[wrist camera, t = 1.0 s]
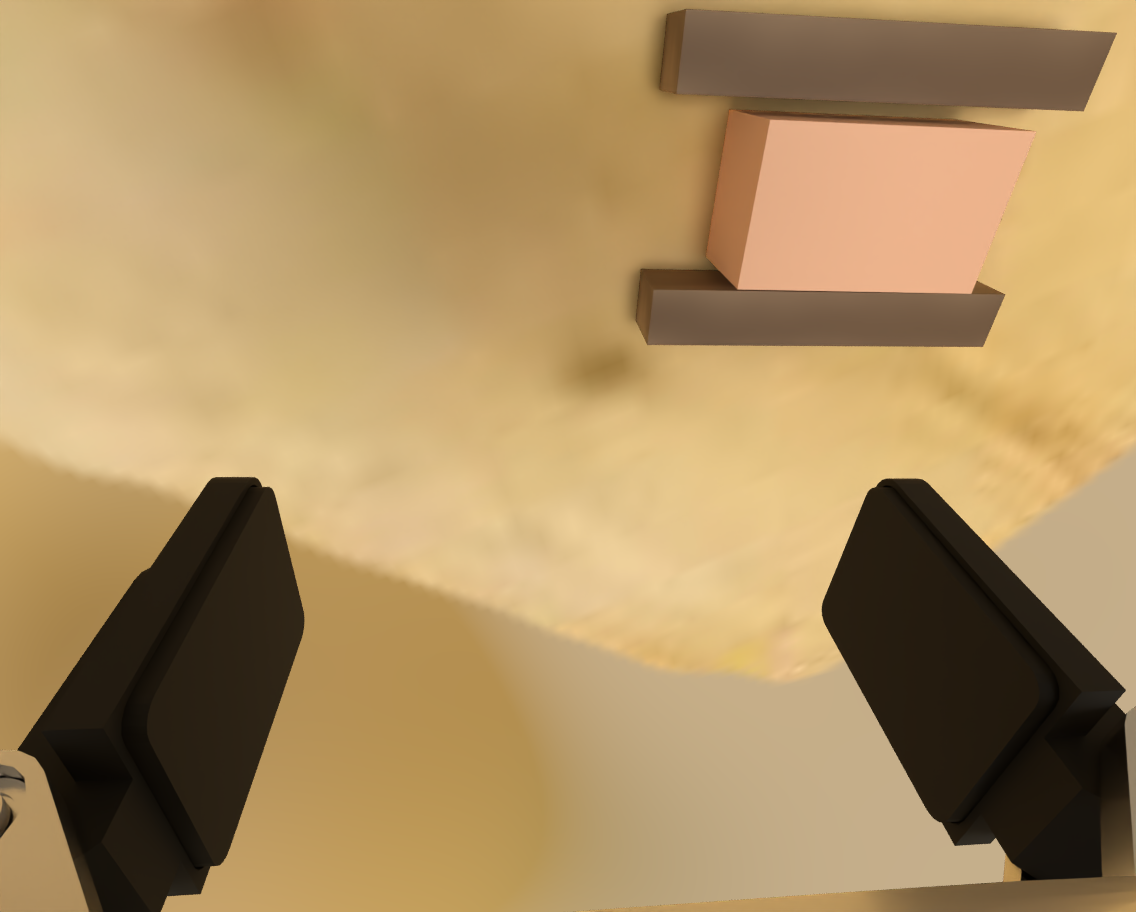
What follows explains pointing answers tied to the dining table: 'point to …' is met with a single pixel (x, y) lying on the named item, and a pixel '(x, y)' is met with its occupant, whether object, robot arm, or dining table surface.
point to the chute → (861, 74)
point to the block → (860, 201)
